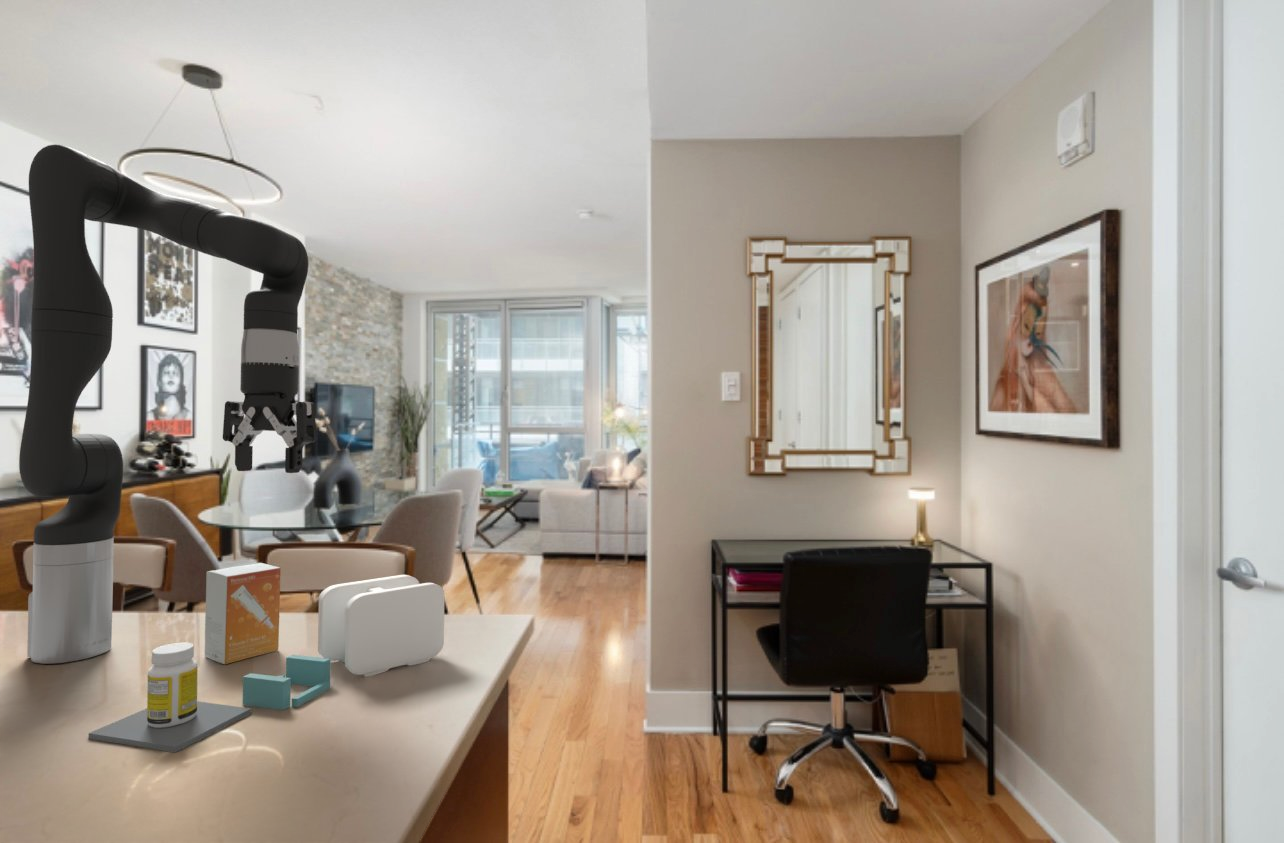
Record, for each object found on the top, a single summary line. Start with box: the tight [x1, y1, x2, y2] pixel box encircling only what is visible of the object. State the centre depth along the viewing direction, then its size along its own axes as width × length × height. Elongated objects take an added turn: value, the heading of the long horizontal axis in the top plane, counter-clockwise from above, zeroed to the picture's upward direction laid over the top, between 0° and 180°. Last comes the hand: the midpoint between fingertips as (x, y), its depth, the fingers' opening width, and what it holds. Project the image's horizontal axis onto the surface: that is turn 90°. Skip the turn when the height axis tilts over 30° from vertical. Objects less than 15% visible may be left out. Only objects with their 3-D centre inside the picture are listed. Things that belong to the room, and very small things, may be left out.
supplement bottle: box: [146, 641, 199, 728], centre depth 77 cm, size 5×5×8 cm
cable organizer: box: [317, 574, 446, 677], centre depth 99 cm, size 15×11×12 cm
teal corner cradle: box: [242, 654, 331, 711], centre depth 87 cm, size 8×8×4 cm
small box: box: [204, 562, 281, 665], centre depth 102 cm, size 8×6×13 cm
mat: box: [88, 700, 252, 753], centre depth 77 cm, size 12×10×1 cm
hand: (268, 471), depth 98 cm, fingers open, 8 cm apart
